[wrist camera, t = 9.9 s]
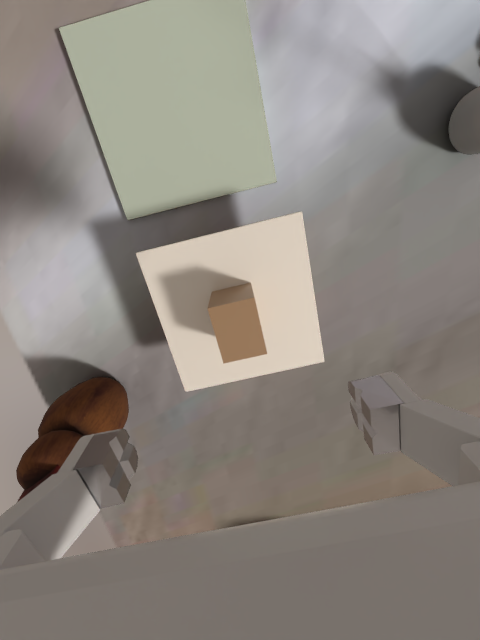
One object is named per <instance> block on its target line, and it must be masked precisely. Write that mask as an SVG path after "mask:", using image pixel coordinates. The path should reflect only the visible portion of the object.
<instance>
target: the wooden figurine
mask: <svg viewBox="0 0 480 640" xmlns="http://www.w3.org/2000/svg"><path fill="white" fill-rule="evenodd" d="M128 412H129V408H128V398H127V393H126V391H125V389H124V387H123V386H122V385H121V384H120V383H119V382H118V381H115V380H113V379H111V378H106V377H97V378H92V379H90V380H87V381H85V382H82V383H80V384H78V385H77V386H75V387H73V388H72V389H70V390H69V391H67V392H66V393H64V394H63V395H62V396H60V397H59V398H58V399H57V400H56V401H55V402H54V403H53V404H52V405H51V406H50V407H49V409H48V410H47V411H46V413H45V415H44V417H43V420H42V422H41V424H40V427H39V429H38V435H39V438H38V439H37V440H36V441H35V442H34V443H33V444H32V445H31V446H30V447H29V448H28V449H27V450H26V452H25V453H24V454H23V456H22V458H21V460H20V463H19V465H18V467H17V470H16V471H17V479H18V482H19V484H20V485H21V486H22V487H23V489H24V492H23V493H22V495H21V496H20V499H19V500H18V501H20V500H21V499H22V498H24V497H25V496H26V495H27V494H29V493H30V492H31V491H32V490H34V489H35V488H36V487H37V486H39V485H40V484H41V483H42V482H44V481H45V480H46V479H48V478H49V477H50V476H51V475H53V474H57V472H58V471H59V469H60V468H61V466H62V465H63V463H64V462H65V460H66V459H67V457H68V456H69V454H70V453H71V451H72V450H73V448H74V447H75V445H76V444H77V442H78V441H79V439H80V438H81V437H83V436H86V435H91V434H97V433H101V432H106V431H112V430H117V429H123V427H124V425H125V423H126V420H127V417H128Z"/></svg>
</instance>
